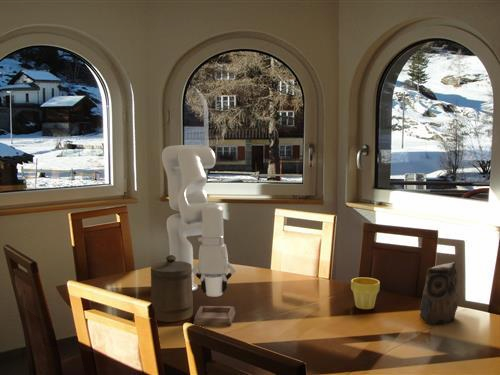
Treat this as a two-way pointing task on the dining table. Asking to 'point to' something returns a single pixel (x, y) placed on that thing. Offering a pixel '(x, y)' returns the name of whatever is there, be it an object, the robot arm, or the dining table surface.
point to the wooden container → (172, 290)
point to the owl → (440, 295)
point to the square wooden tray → (214, 316)
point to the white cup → (213, 285)
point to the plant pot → (365, 292)
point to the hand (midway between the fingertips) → (214, 291)
